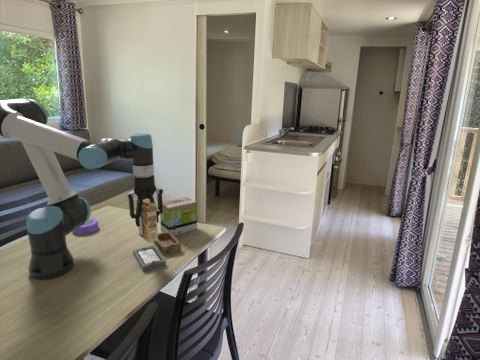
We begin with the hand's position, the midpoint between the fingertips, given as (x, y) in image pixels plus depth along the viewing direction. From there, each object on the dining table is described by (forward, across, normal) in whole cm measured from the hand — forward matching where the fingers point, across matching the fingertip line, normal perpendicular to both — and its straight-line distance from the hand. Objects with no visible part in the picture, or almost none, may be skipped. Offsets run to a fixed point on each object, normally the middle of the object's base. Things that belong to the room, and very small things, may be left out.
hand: (147, 231), depth 132 cm
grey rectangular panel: (+12, 0, 0) cm, 12 cm away
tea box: (+13, +21, +21) cm, 32 cm away
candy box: (+3, 0, 0) cm, 3 cm away
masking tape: (+13, -19, +44) cm, 49 cm away
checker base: (+13, 0, 0) cm, 13 cm away
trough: (+13, +10, +8) cm, 18 cm away
